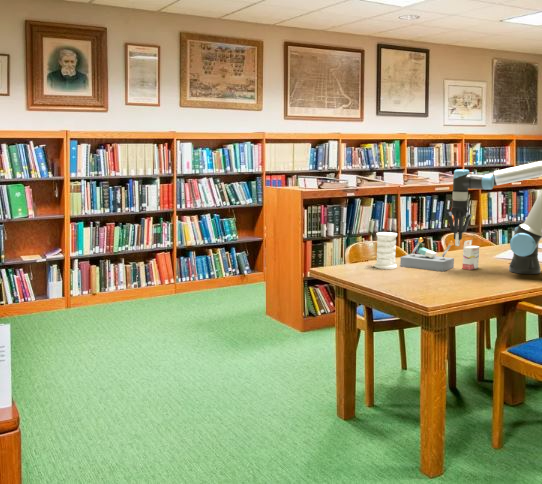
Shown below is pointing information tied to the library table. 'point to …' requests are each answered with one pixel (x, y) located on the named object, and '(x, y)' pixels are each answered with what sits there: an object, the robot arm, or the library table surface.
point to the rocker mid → (427, 252)
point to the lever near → (448, 247)
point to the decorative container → (386, 250)
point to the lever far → (417, 244)
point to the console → (427, 262)
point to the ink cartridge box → (470, 256)
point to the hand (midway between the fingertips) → (457, 245)
